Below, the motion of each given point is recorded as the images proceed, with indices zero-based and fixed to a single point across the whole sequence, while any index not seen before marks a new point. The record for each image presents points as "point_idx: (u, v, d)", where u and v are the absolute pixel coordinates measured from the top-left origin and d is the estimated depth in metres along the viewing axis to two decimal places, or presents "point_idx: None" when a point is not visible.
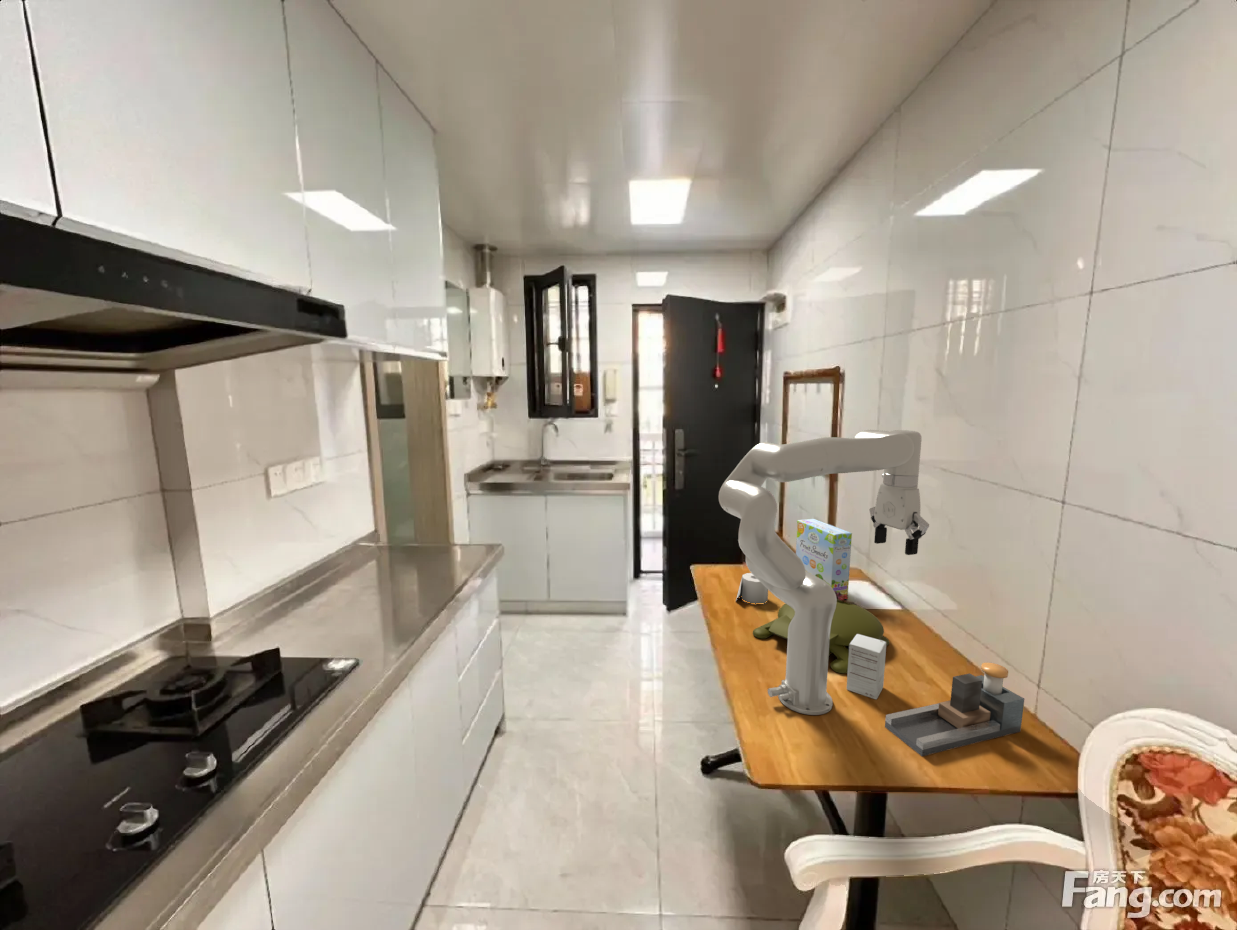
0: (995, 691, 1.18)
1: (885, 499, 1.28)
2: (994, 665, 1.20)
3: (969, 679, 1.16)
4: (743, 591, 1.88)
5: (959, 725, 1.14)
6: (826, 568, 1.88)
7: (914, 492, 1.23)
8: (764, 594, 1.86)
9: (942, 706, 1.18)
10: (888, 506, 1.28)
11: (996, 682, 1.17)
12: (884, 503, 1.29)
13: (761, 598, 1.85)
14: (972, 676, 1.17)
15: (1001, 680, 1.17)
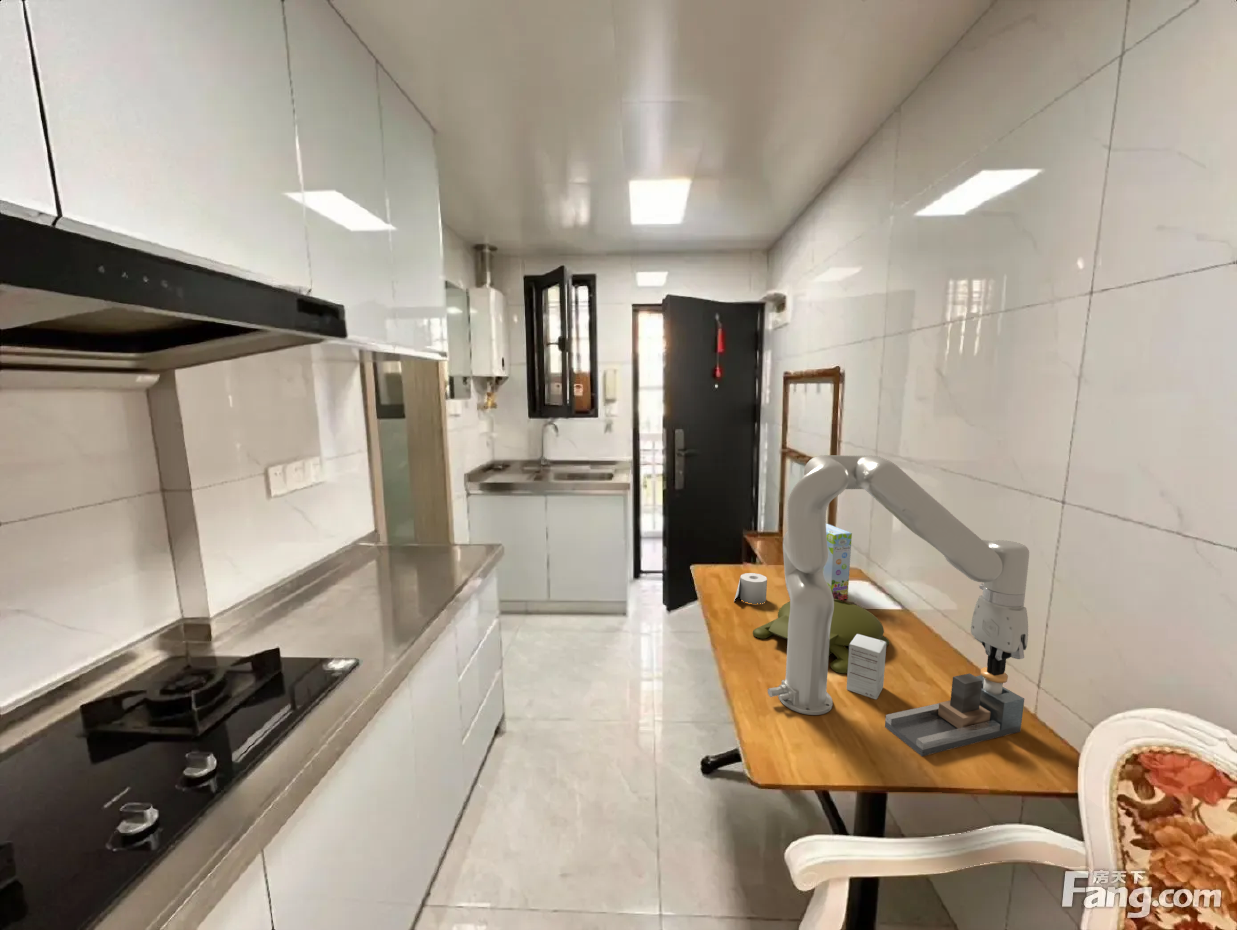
0: None
1: (986, 615, 1.17)
2: None
3: (969, 679, 1.16)
4: (741, 591, 1.88)
5: (959, 725, 1.14)
6: (826, 568, 1.88)
7: (1022, 613, 1.12)
8: (763, 595, 1.85)
9: (942, 706, 1.18)
10: (990, 623, 1.16)
11: (995, 687, 1.18)
12: (984, 619, 1.18)
13: (760, 598, 1.85)
14: (972, 676, 1.17)
15: (1000, 685, 1.17)
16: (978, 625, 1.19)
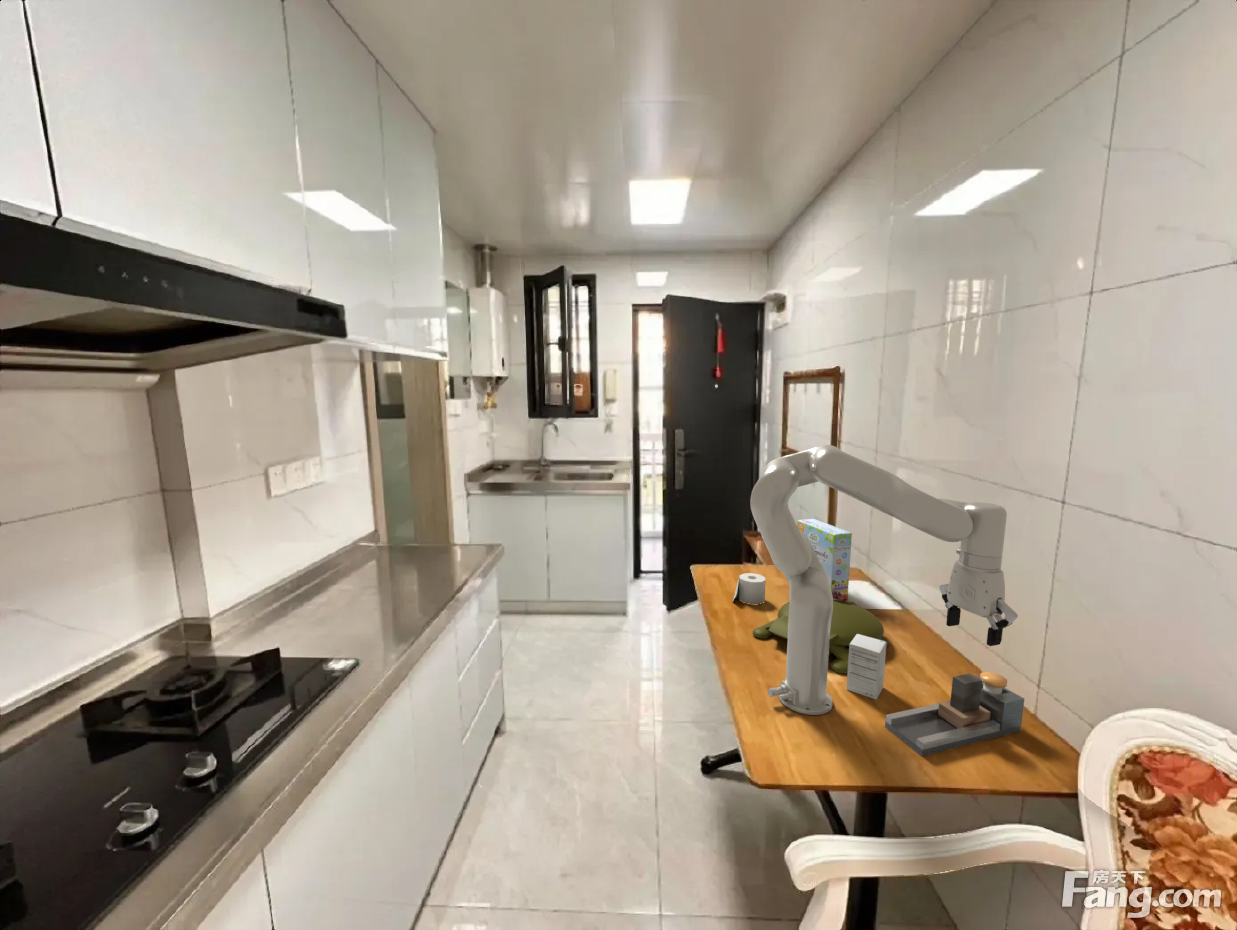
0: None
1: (962, 580, 1.14)
2: (993, 674, 1.20)
3: (969, 679, 1.16)
4: (740, 591, 1.88)
5: (959, 725, 1.14)
6: (826, 568, 1.88)
7: (998, 575, 1.08)
8: (761, 595, 1.85)
9: (942, 706, 1.18)
10: (966, 588, 1.13)
11: (995, 692, 1.18)
12: (961, 584, 1.14)
13: (758, 598, 1.85)
14: (972, 676, 1.17)
15: (1000, 689, 1.18)
16: (954, 590, 1.16)
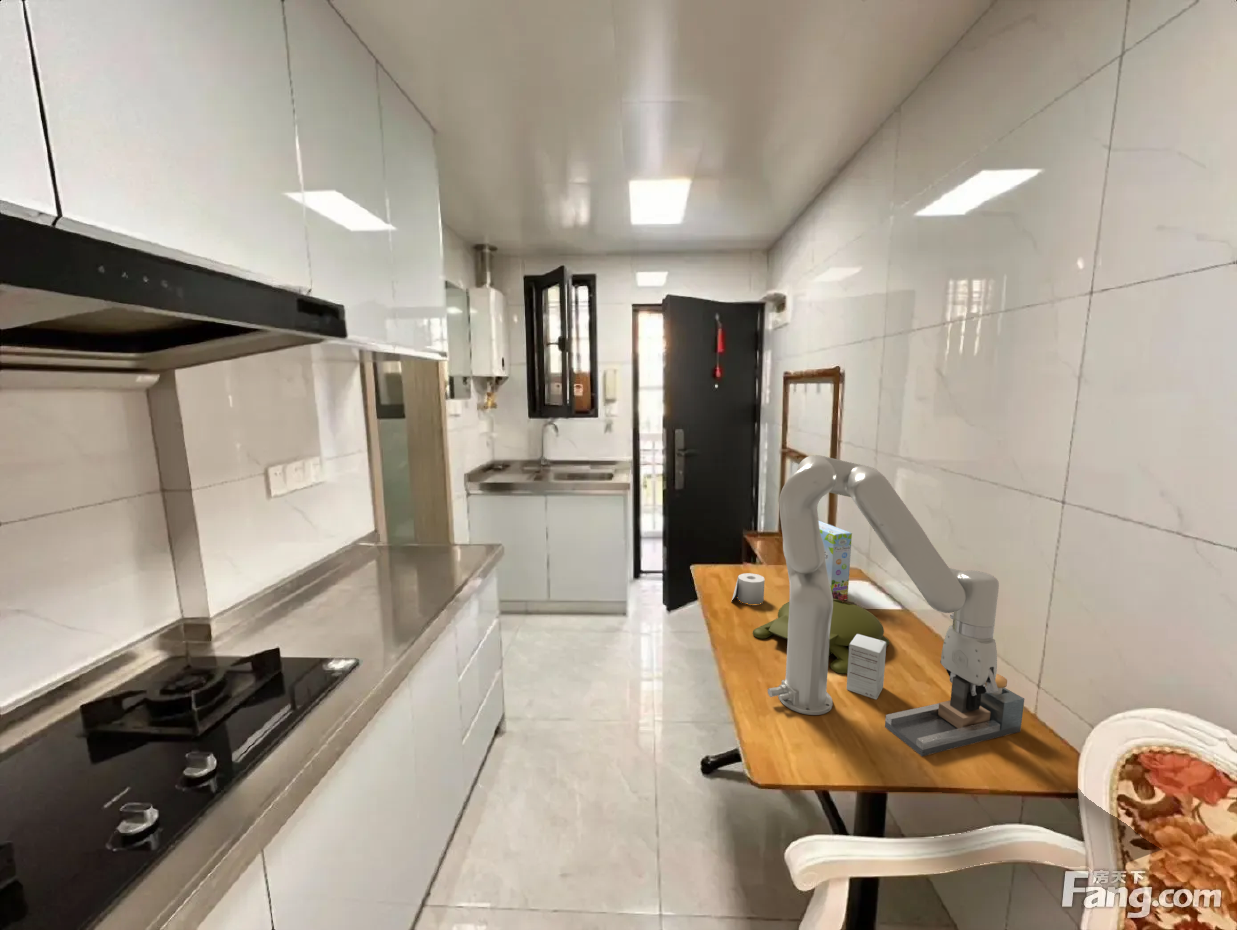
0: None
1: (955, 646, 1.16)
2: None
3: None
4: (739, 591, 1.88)
5: (959, 725, 1.14)
6: None
7: (990, 645, 1.11)
8: (760, 595, 1.85)
9: (942, 706, 1.18)
10: (959, 655, 1.15)
11: None
12: (954, 650, 1.16)
13: (757, 599, 1.85)
14: None
15: (1000, 689, 1.18)
16: (948, 655, 1.18)
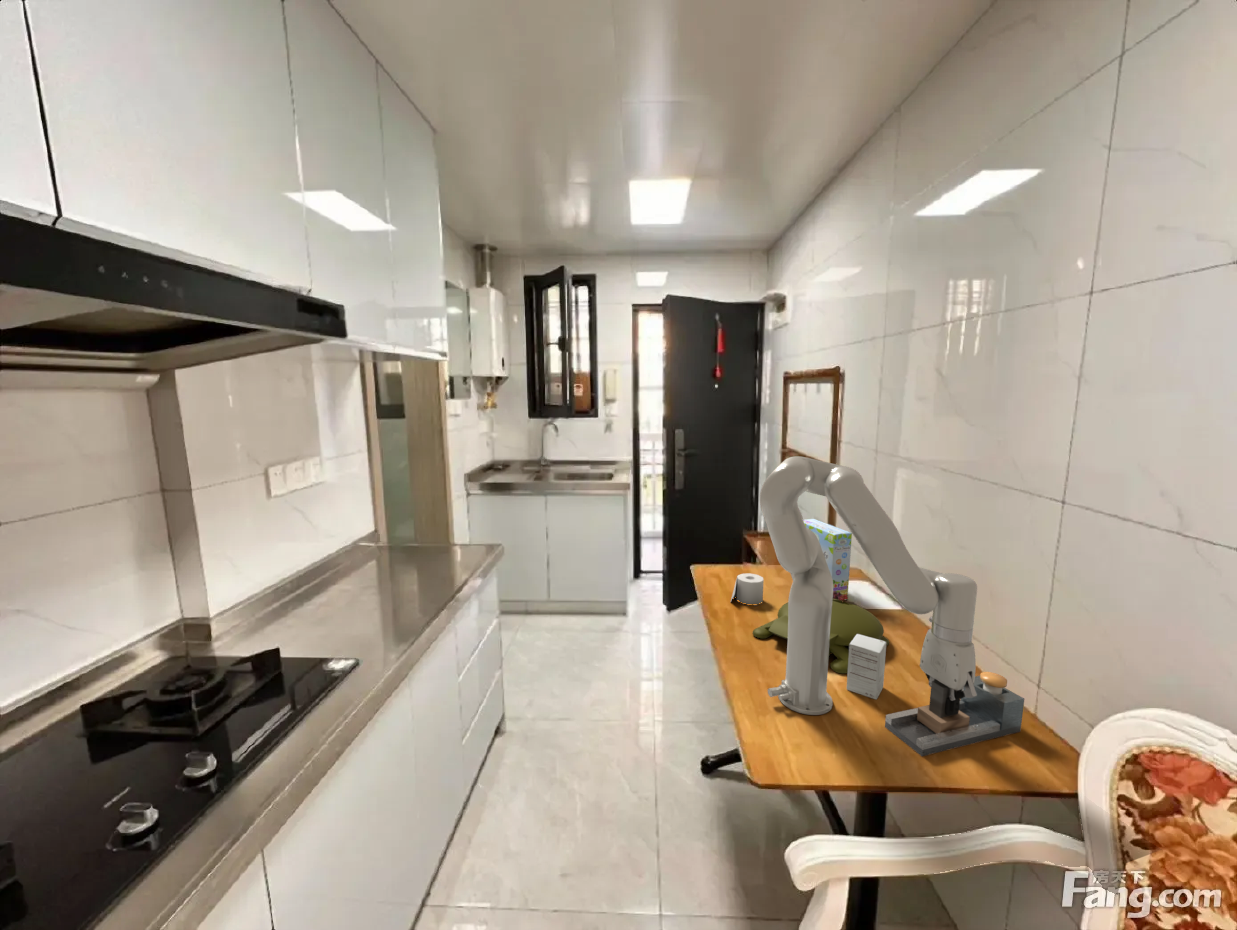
0: None
1: (934, 650, 1.14)
2: (993, 674, 1.20)
3: None
4: (738, 592, 1.88)
5: (937, 730, 1.13)
6: None
7: (969, 649, 1.09)
8: (759, 595, 1.85)
9: (921, 711, 1.17)
10: (938, 659, 1.13)
11: (995, 692, 1.18)
12: (933, 654, 1.15)
13: (756, 599, 1.85)
14: None
15: (1000, 689, 1.18)
16: (927, 659, 1.16)
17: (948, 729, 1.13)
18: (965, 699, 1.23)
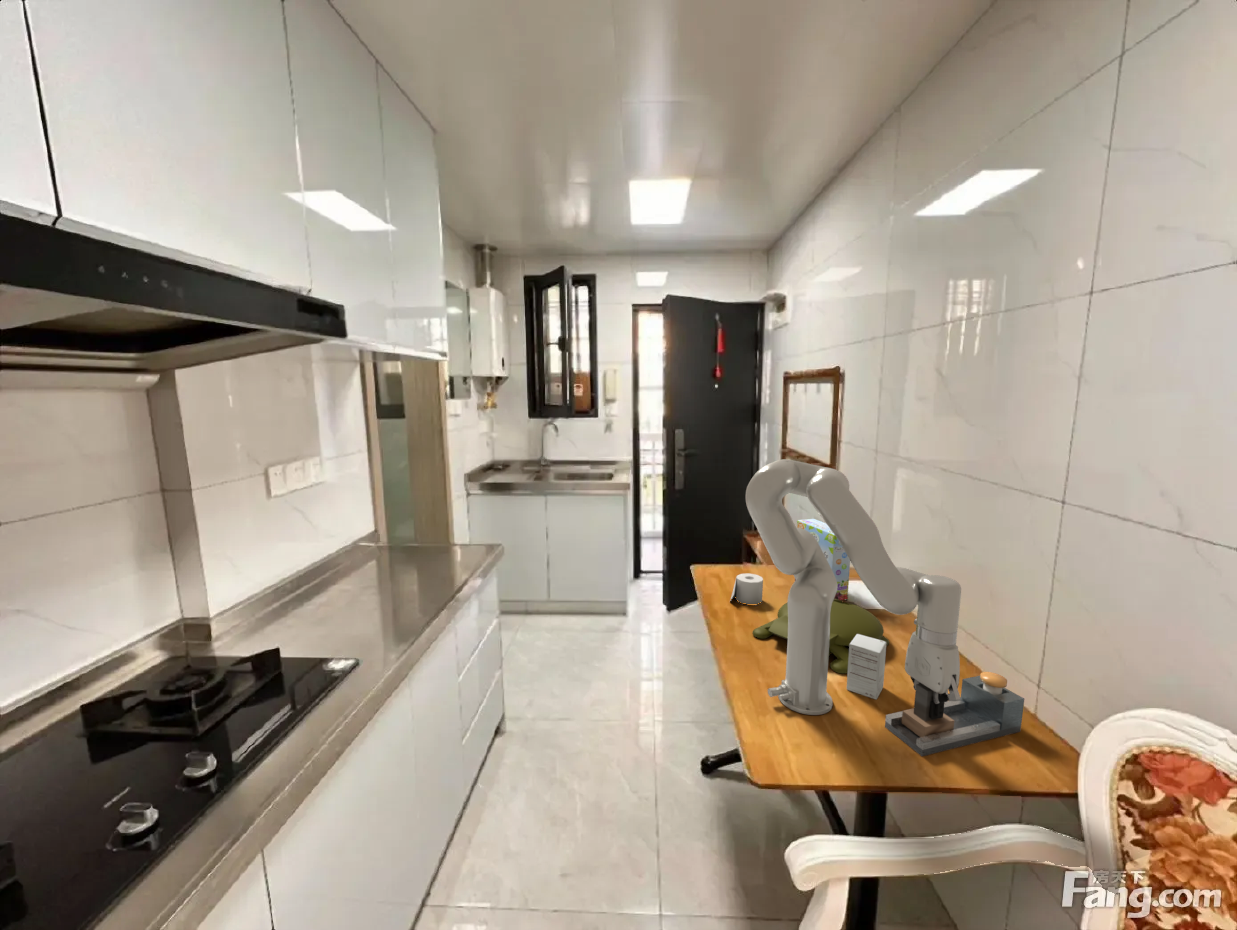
0: None
1: (918, 653, 1.13)
2: (993, 674, 1.20)
3: None
4: (737, 592, 1.88)
5: (922, 734, 1.11)
6: None
7: (952, 652, 1.08)
8: (759, 595, 1.85)
9: (905, 714, 1.15)
10: (922, 662, 1.12)
11: (995, 692, 1.18)
12: (917, 657, 1.13)
13: (755, 599, 1.85)
14: None
15: (1000, 689, 1.18)
16: (911, 662, 1.15)
17: (932, 733, 1.11)
18: (965, 699, 1.23)
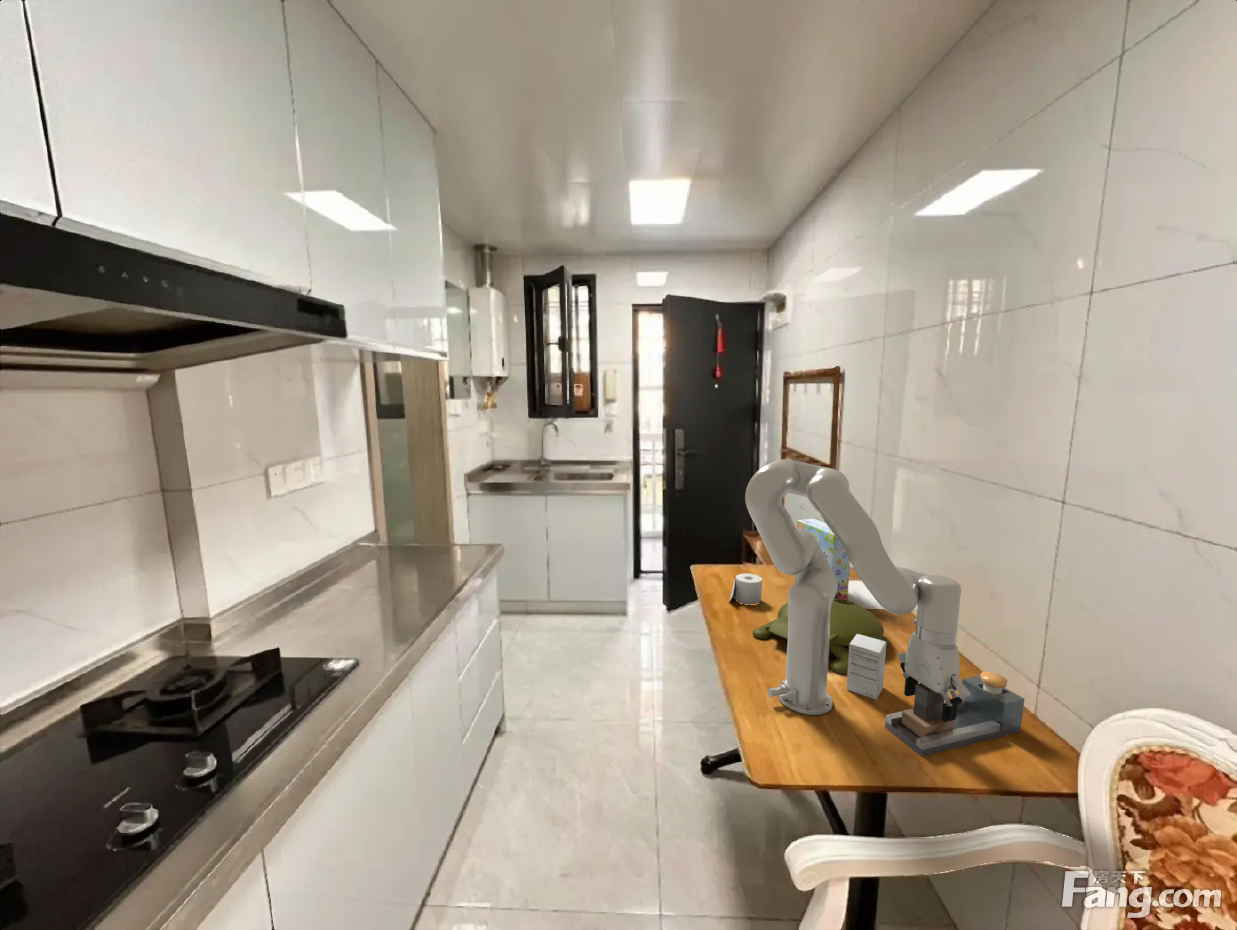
0: None
1: (918, 653, 1.13)
2: (993, 674, 1.20)
3: None
4: (736, 592, 1.87)
5: (921, 734, 1.11)
6: None
7: (952, 652, 1.08)
8: (758, 595, 1.85)
9: (905, 714, 1.15)
10: (922, 662, 1.12)
11: (995, 692, 1.18)
12: (917, 657, 1.13)
13: (755, 599, 1.84)
14: None
15: (1000, 689, 1.18)
16: (911, 662, 1.15)
17: (932, 733, 1.11)
18: None
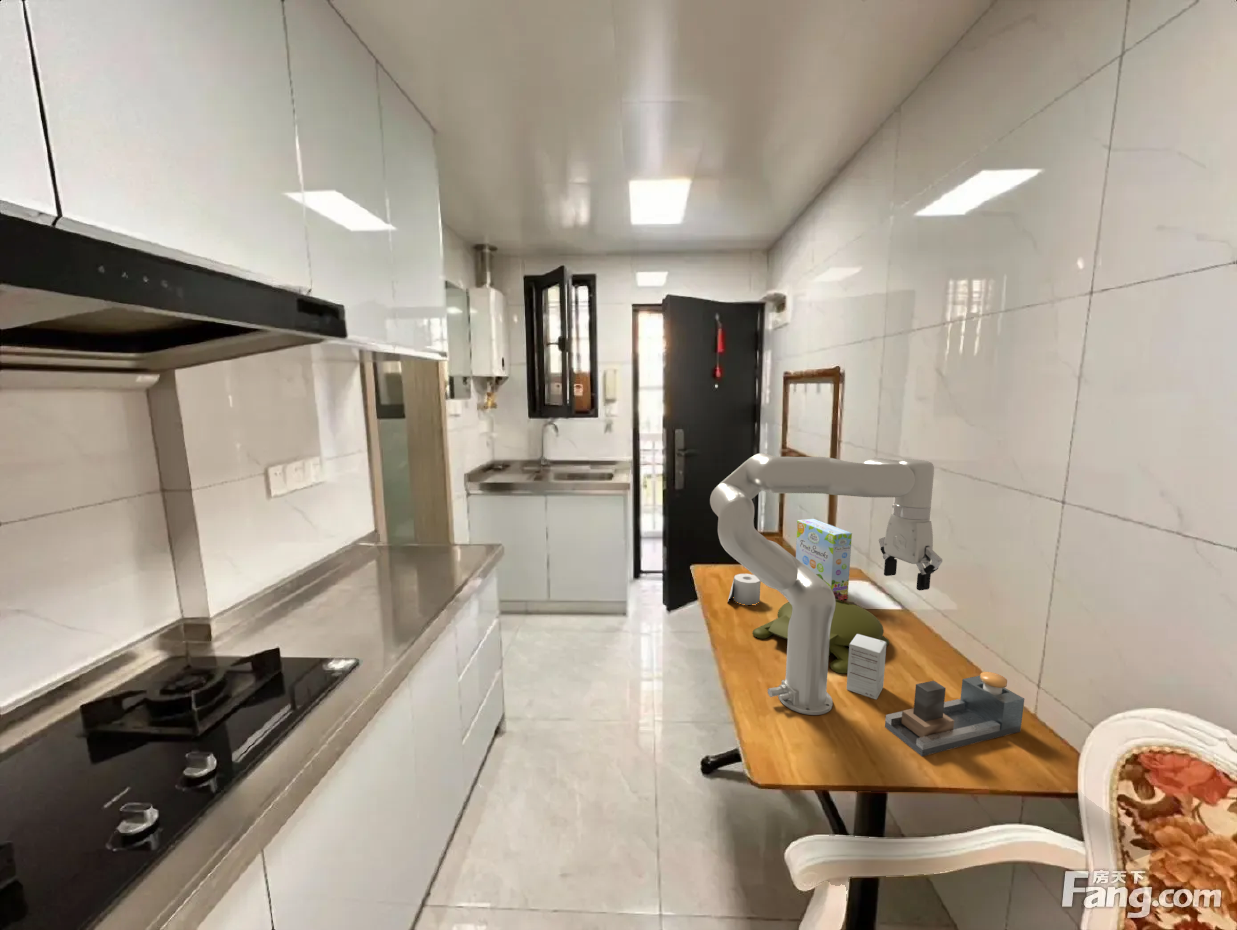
0: None
1: (895, 531, 1.23)
2: (993, 674, 1.20)
3: (932, 686, 1.13)
4: (735, 592, 1.87)
5: (921, 734, 1.11)
6: (826, 568, 1.88)
7: (926, 525, 1.18)
8: (756, 595, 1.85)
9: (905, 714, 1.15)
10: (899, 538, 1.22)
11: (995, 692, 1.18)
12: (894, 535, 1.24)
13: (753, 599, 1.84)
14: (936, 683, 1.14)
15: (1000, 689, 1.18)
16: (890, 541, 1.25)
17: (932, 733, 1.11)
18: (965, 699, 1.23)
